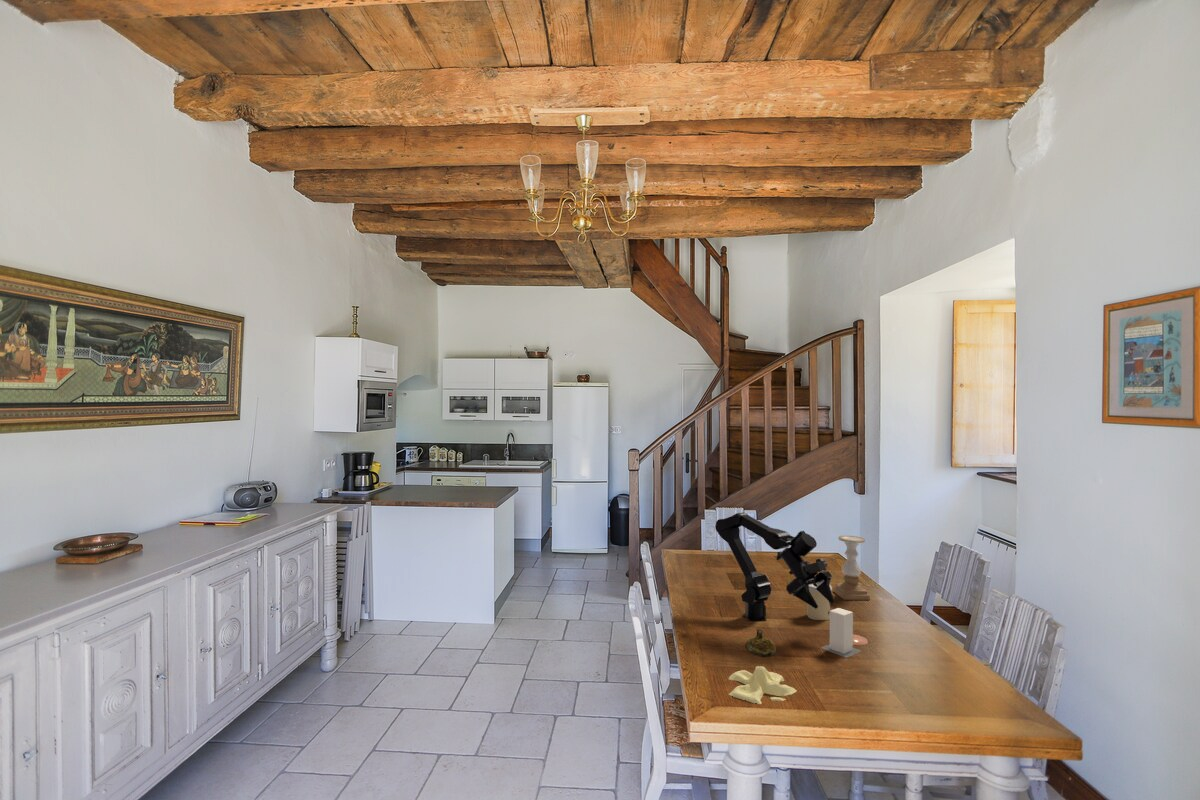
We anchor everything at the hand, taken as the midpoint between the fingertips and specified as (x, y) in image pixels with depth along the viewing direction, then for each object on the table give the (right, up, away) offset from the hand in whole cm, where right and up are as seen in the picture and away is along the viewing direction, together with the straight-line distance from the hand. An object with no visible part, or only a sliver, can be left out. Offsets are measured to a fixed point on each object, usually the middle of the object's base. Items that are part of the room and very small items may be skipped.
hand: (825, 605), depth 188 cm
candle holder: (+31, -14, +50) cm, 61 cm away
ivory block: (+3, -12, -5) cm, 14 cm away
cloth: (-28, -13, -30) cm, 43 cm away
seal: (-22, -13, -3) cm, 26 cm away
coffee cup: (+7, -14, +25) cm, 29 cm away
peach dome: (+10, -13, +3) cm, 17 cm away
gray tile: (+3, -13, -5) cm, 14 cm away
